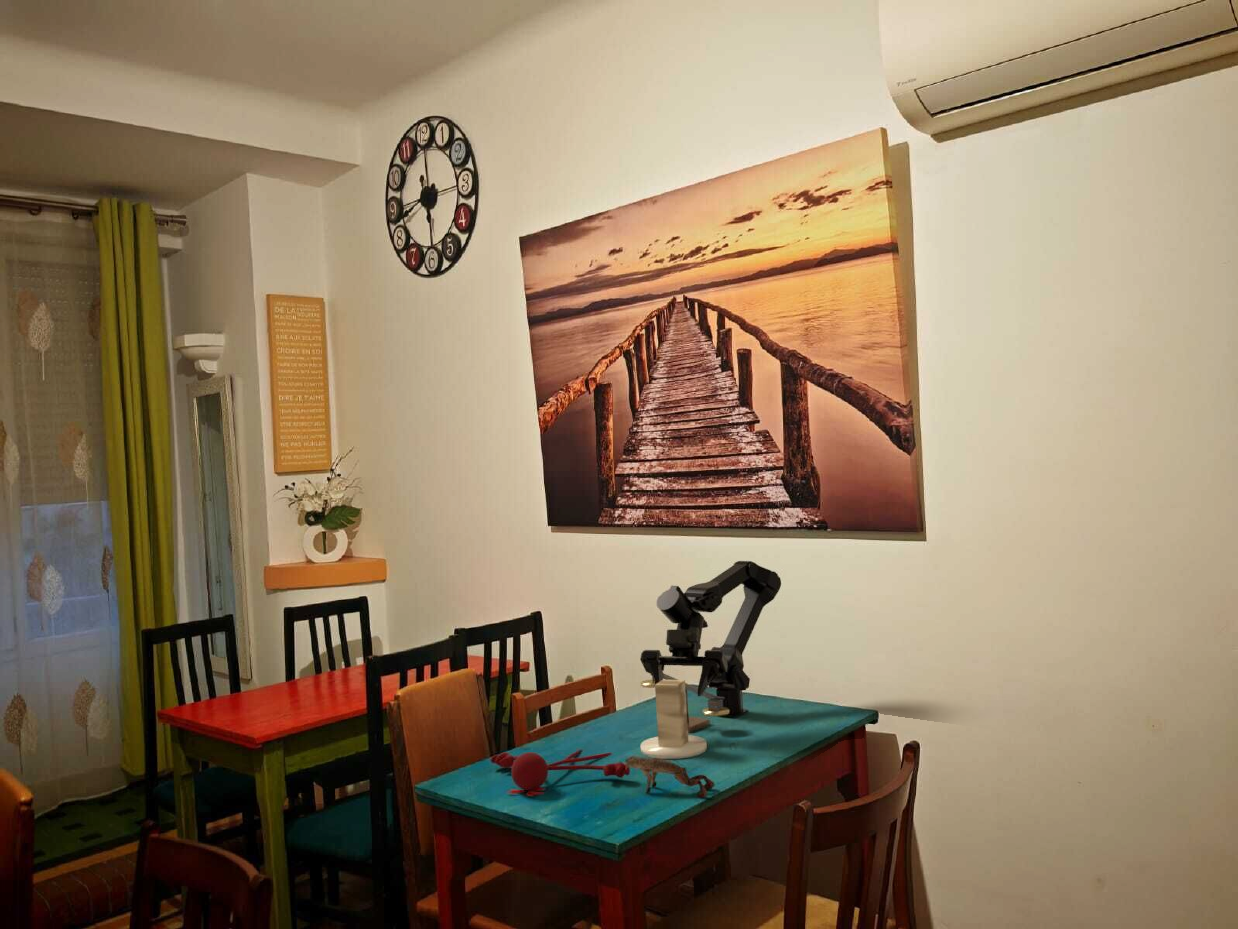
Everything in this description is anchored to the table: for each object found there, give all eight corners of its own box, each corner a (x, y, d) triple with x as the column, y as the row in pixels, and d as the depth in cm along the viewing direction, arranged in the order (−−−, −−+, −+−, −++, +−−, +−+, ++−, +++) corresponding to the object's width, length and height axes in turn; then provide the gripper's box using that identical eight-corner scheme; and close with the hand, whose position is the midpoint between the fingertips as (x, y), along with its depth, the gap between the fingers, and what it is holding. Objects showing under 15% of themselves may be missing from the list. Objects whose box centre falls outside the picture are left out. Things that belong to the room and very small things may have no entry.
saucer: (667, 737, 227) (667, 731, 227) (719, 745, 218) (719, 739, 218) (627, 753, 217) (627, 747, 217) (680, 762, 208) (680, 756, 208)
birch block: (666, 739, 221) (662, 679, 221) (688, 740, 219) (684, 680, 219) (658, 746, 216) (654, 684, 216) (681, 747, 214) (677, 685, 214)
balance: (656, 716, 246) (652, 665, 246) (738, 728, 231) (734, 673, 231) (635, 724, 240) (632, 672, 240) (718, 737, 225) (714, 681, 225)
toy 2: (689, 818, 192) (625, 762, 197) (717, 782, 190) (652, 726, 194) (680, 829, 187) (615, 771, 191) (708, 792, 185) (642, 734, 189)
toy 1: (535, 764, 226) (453, 787, 200) (536, 729, 227) (454, 748, 200) (666, 778, 211) (596, 805, 185) (667, 741, 212) (597, 763, 186)
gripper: (639, 614, 230) (627, 674, 220) (720, 613, 224) (711, 675, 214) (652, 642, 238) (641, 701, 227) (731, 642, 231) (723, 703, 221)
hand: (678, 695), depth 222 cm, fingers open, 9 cm apart
